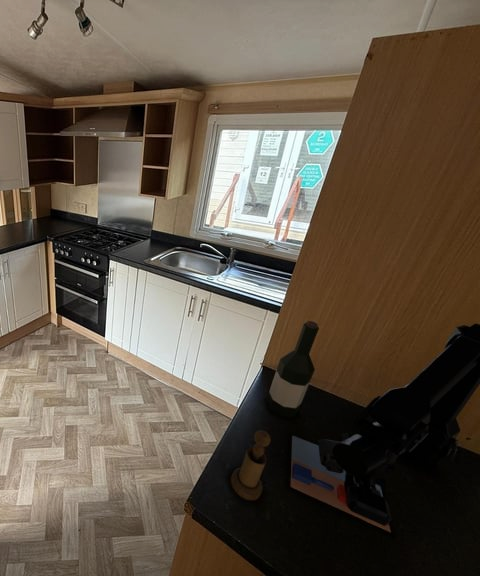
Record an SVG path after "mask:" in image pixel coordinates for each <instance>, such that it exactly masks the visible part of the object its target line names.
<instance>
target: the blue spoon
mask: <svg viewBox="0 0 480 576" xmlns="http://www.w3.org/2000/svg"><path fill="white" fill-rule="evenodd" d="M292 478H293V479H296V480H298V481H300V482H302V483H305V484H307V485H309V486H310V484H311V482H312V483H315V484H317V485H319V486H322V487H324V488H326V489H328V490H331V491H333V490H334V487H333V486H332V485H330V484H328V483H326V482H323V481H321V480H319V479H317V478H314V477H312V470H310V469H308V468H305V467H303V466H300V465H298V464H296V463H294V465H293V467H292Z"/></svg>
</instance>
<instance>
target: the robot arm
mask: <svg viewBox="0 0 480 576" xmlns="http://www.w3.org/2000/svg"><path fill="white" fill-rule="evenodd" d="M479 386H480V324H479V323H473V324H472V325H470V326H469V325H466V324H463V325H462V324H461V325H458V326H456V327H455V328H454V330H453V332H452V333H451V334H450V336H449V338H448V339H447V340H446V344H445V347H444V350H443V351H442V352H441V353H439V354H438V355H437V356H436V357H435V358H434V359H433V360H432V361H431V362H430V363H429V364H428V365H427V366H426V367H425V368H423V369H422V370H421V371H420V372H419V373H418V374H417V375H416V376H415V377H414V378H412V380H411V381H410V382H409V383H408V384H406V385H405V386H402V387H395V388H390V389H388V390H387V391H386V392H385V393H384V394H382V395H377V396H375V397H374V398H373V399H372V400H371V401H370V402H369V404H367V406H366V407H365V408H364V409H363V410H362V411H361V412H360V413H359V414H358V415H357V417H355V419H354V420H353V421H352V425H355V426H356V427H358V428H359V429H360V430H359V431H358V433H356V434H352V433H349V432H346V433H341V434H340V437H339V438H338V440H332V439H325V438H320V439H319V440H318V446H319V455H320V463H321V464H322V465H323V466H325V467H326V469H327V470H328V471H330V472H335V473H340V474H341V473H343V470H345V471H346V472H345V482H344V488H345V493H346V500H347V501H346V505H347V507H348V508H349V509H350V510H351V511H352V512H354V513H357V514H359V515H361V516H363V517H366V518H368V519H370V520H372V521H374V522H377V523H379V524H381V525H383V526H386V525H388V524H389V525H390V524H391V521H392V520H393V518H392V513H391V510H390V505H389V502H388V501H387V499H386V498H385V497H384V496H383V497H382V496H381V493H380V491H379V490H377V489H376V486H375V484H377V485H379V486H381V488H385V487H386V486H387V483H386V475H387V474H390V475H394V474H395V472H396V470H395V465H394V463H395V462H396V460H397V459H398V457H399V458H400V460H401V461H402V462H404V463H406V464H410V465H412V466H414V467H418V468H420V469H423V470H426V471H429V472H431V473H434V474H436V473H437V470H436V468H435V467H436V464H437V463H438V462H439V461H440V459H441V460H443V459H453V457H454V456H455V455H456V454H457V451H458V448H459V440H458V439H456V438H457V437H458V435H459V434H460V433H461V427H460V425H459V422H458V420H457V418H458V416H459V415H460V414H461V412H462V411H463V409H464V408H465V406H466V404H467V403H468V402H469V400H470V399H471V397H472V396H473V395H474V394H475V392H476V391H477V389H478V388H479ZM368 417H370V418H371V419H372V420H373V421H374V422H371V421H370V420H368V419H367V418H368Z"/></svg>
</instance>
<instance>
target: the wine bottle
mask: <svg viewBox="0 0 480 576" xmlns="http://www.w3.org/2000/svg"><path fill="white" fill-rule="evenodd" d="M319 329H320V327H319V324H318V323H317V322H315V321H312V320H307V321H306V322H305V323H304V324H303V325H302V328H301V331H300V333H299V336H298V339H297V341H296V343H295V344H296V345H295V347H294V349H293V350H291V351H290V352H288V353H287V354H285V355H284V356H282V357H281V358H279V362H278V364H277V367H276V371H275V373H274V376H273V379H272V382H271V385H270V388H269V392H268V395H267V397H266V400H265V403H266V404H267V406H268V409H269V410H271V411H272V412H274V413H275V414H277V415H279V416H281V417H288V418H293V417H294V416H295V415H296V414H297V413H298V412H299V410H300V408H301V405H302V402H303V400H304V398H305V395H306V392H307V390H308V388H309V385H310V383H311V380H312V378H313V376H314V373H315V371H316V368H315V366H314V363H313V361H312V358H311V355H310V353H311V350H312V348H313V345H314V343H315V341H316V340H315V339H316V337H317V335H318V333H319Z"/></svg>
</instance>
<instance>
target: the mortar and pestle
mask: <svg viewBox="0 0 480 576" xmlns="http://www.w3.org/2000/svg"><path fill="white" fill-rule="evenodd" d="M253 436H254V437H253V438H254V441H255V443H254V444H253V445H252V447H249V448H248V449H247V450H246V452H245V456H244V458H243V462H242V465H241V467H237V468H235V469H234V470H233V471H232V474H231V476H230V485H231V487H232V489H233V491H234V492H235V493H236V494H237V495H238V496H240V497H241V498H242V499H244V500H248V501H256V500H258V499H260V497H261V495H262V492H263V488H264V486H263V482H262V479H261V476H262V474H263V471H264V468H265V466H266V464H267V461H268V459H267V456H266V454H265V452H266V449H265V447H268V446H269V445H270V443H271V441H272V440H271V436H270V434H269V433H268V432H267V431H265V430H261V429H259V430H257V431H256V432H255V433H254V435H253Z"/></svg>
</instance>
